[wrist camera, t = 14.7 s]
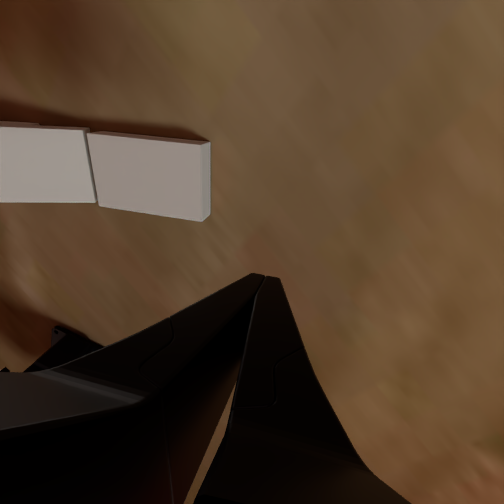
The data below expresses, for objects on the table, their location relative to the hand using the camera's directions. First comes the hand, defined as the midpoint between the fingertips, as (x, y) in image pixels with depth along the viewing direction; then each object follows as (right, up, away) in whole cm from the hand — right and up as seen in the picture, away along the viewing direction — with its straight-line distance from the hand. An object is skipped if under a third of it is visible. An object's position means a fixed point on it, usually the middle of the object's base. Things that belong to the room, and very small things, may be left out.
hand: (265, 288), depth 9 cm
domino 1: (-12, +7, +13) cm, 19 cm away
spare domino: (-3, +6, +12) cm, 13 cm away
